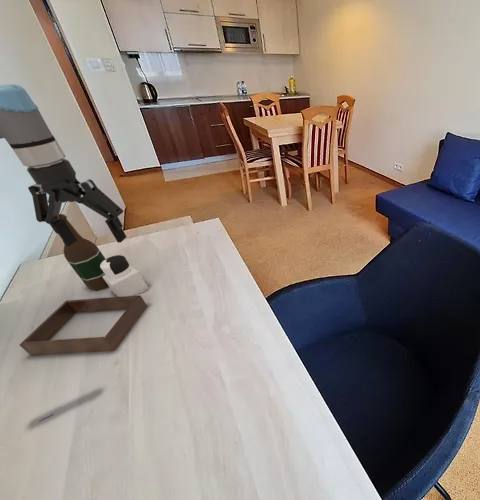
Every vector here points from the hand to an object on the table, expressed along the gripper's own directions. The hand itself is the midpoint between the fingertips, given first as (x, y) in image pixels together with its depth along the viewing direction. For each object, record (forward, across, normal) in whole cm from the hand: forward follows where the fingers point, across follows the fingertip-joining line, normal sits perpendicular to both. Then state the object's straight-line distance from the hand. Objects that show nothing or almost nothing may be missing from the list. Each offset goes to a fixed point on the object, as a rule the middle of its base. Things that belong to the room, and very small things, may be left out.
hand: (97, 241), depth 80 cm
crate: (+18, 0, +15) cm, 24 cm away
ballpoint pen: (+18, -8, +36) cm, 41 cm away
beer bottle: (+18, +11, -5) cm, 22 cm away
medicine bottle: (+18, -1, 0) cm, 18 cm away
